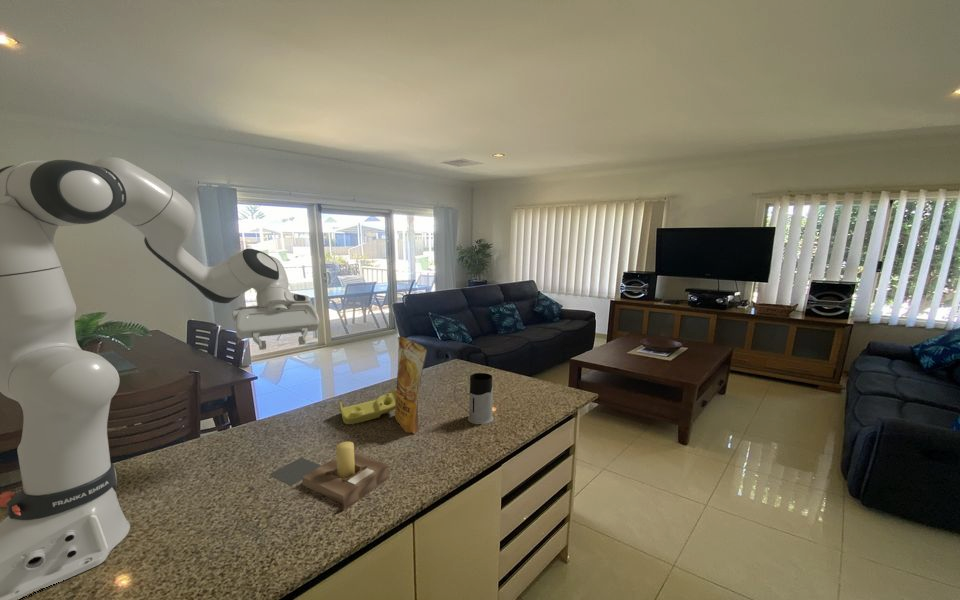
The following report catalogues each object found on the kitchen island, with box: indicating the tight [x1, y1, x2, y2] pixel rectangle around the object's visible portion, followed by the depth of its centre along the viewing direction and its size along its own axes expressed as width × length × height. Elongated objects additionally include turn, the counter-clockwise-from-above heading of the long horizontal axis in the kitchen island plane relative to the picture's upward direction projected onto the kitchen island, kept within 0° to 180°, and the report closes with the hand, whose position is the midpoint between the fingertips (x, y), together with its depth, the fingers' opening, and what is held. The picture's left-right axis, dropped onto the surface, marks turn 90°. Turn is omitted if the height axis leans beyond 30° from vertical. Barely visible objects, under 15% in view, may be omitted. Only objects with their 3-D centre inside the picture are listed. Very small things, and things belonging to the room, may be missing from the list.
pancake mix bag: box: [394, 335, 427, 435], centre depth 123 cm, size 7×19×28 cm, turn 30°
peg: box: [335, 441, 356, 479], centre depth 91 cm, size 4×4×10 cm
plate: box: [268, 457, 322, 487], centre depth 95 cm, size 9×9×2 cm
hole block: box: [301, 451, 390, 511], centre depth 91 cm, size 14×14×4 cm
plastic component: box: [338, 388, 397, 425], centre depth 131 cm, size 20×7×10 cm
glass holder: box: [453, 372, 494, 425], centre depth 126 cm, size 9×14×15 cm, turn 115°
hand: (283, 345), depth 100 cm, fingers open, 8 cm apart
